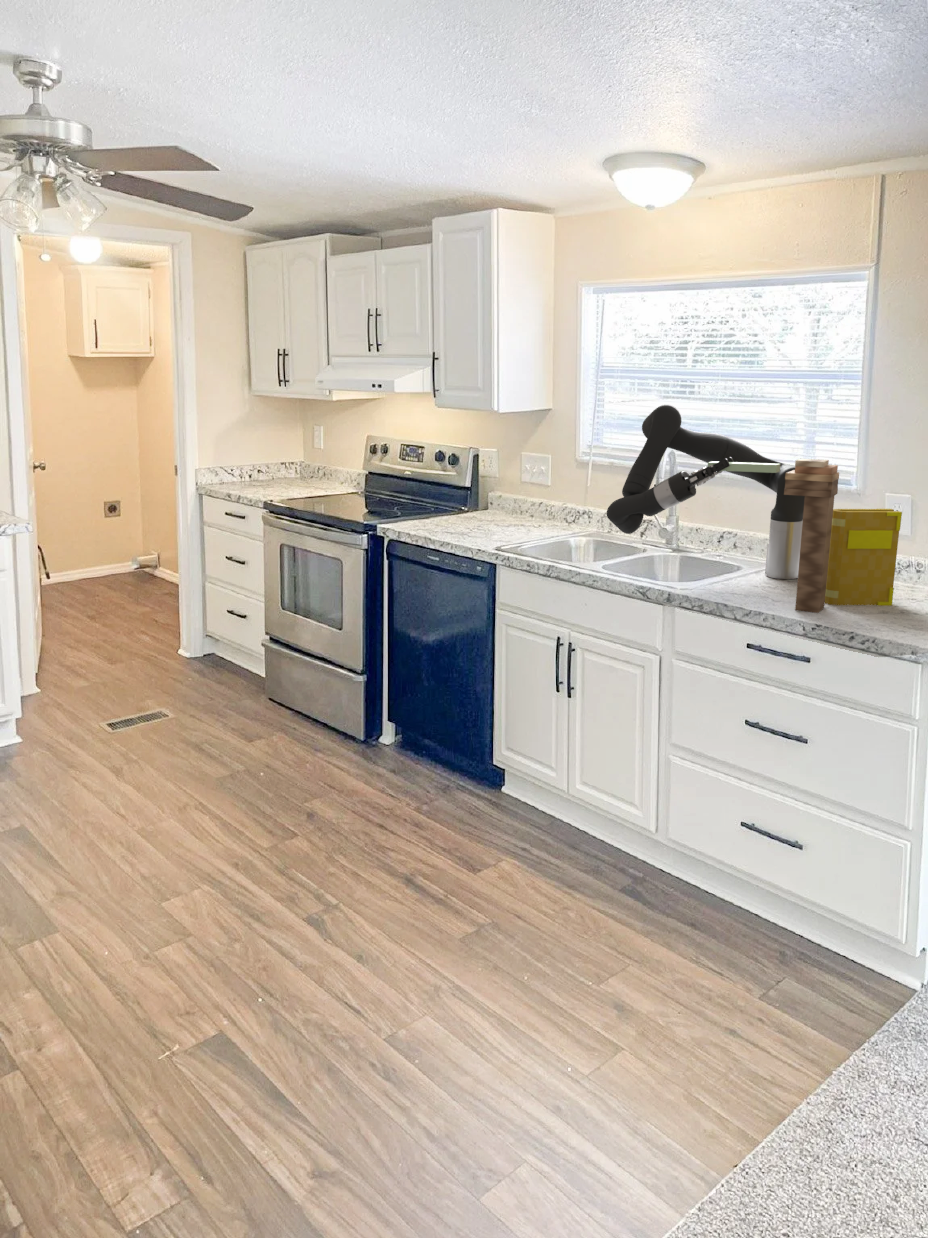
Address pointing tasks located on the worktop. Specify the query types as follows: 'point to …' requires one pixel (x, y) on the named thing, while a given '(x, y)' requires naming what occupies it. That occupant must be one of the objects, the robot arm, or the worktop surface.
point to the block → (750, 467)
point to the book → (862, 556)
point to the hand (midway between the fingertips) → (730, 461)
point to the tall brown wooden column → (813, 527)
